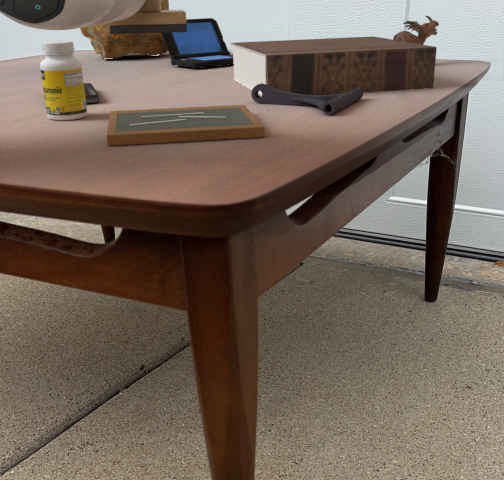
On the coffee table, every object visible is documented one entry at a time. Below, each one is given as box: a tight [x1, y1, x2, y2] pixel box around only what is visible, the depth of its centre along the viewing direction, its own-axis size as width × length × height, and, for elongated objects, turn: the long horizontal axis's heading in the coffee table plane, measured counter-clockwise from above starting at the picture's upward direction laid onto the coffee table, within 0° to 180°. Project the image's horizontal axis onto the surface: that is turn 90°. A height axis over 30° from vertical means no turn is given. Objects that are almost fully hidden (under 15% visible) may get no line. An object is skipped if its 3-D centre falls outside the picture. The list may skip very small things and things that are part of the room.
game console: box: [161, 17, 233, 69], centre depth 148 cm, size 16×14×9 cm
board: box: [106, 104, 266, 147], centre depth 86 cm, size 18×16×1 cm
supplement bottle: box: [39, 40, 88, 121], centre depth 93 cm, size 5×5×10 cm
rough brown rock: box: [79, 0, 170, 59], centre depth 163 cm, size 23×17×15 cm
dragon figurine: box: [392, 15, 440, 45], centre depth 138 cm, size 14×6×9 cm, turn 136°
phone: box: [84, 82, 100, 104], centre depth 110 cm, size 8×1×15 cm
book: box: [230, 35, 438, 96], centre depth 118 cm, size 24×28×7 cm
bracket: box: [250, 83, 364, 116], centre depth 99 cm, size 14×15×3 cm
